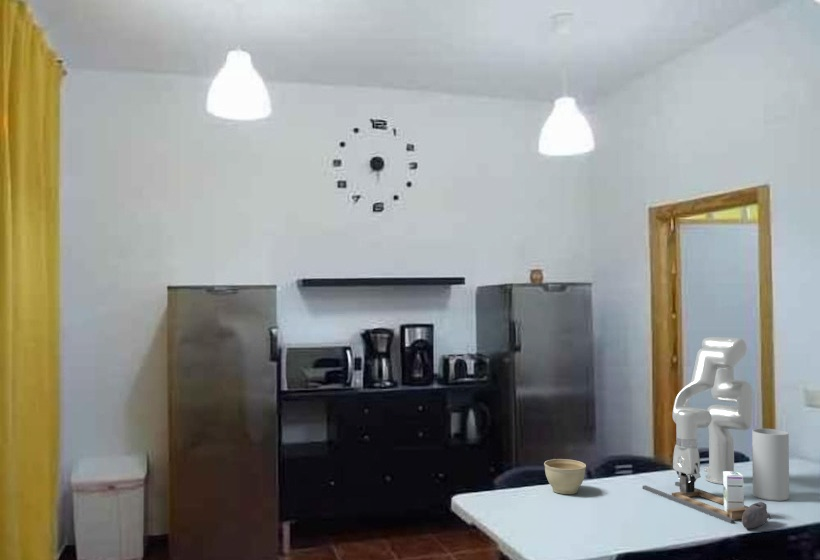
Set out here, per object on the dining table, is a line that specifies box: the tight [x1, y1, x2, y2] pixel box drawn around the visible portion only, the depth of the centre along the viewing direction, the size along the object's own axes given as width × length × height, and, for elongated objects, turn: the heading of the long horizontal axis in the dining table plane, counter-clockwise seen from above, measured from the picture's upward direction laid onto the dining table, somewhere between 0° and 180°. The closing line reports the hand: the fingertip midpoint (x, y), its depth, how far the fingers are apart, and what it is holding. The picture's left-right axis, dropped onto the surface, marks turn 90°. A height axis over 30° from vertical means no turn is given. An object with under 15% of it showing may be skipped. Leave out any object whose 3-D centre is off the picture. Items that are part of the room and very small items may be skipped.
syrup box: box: [722, 470, 745, 511], centre depth 252 cm, size 6×6×14 cm
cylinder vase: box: [751, 428, 790, 502], centre depth 274 cm, size 12×12×25 cm
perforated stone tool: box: [741, 501, 769, 530], centre depth 239 cm, size 15×5×7 cm, turn 129°
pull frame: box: [671, 474, 749, 521], centre depth 261 cm, size 30×13×8 cm, turn 20°
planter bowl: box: [543, 458, 587, 495], centre depth 282 cm, size 16×16×11 cm
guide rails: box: [642, 481, 771, 524], centre depth 267 cm, size 46×18×1 cm, turn 20°
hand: (687, 490), depth 274 cm, fingers closed on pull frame, 3 cm apart
